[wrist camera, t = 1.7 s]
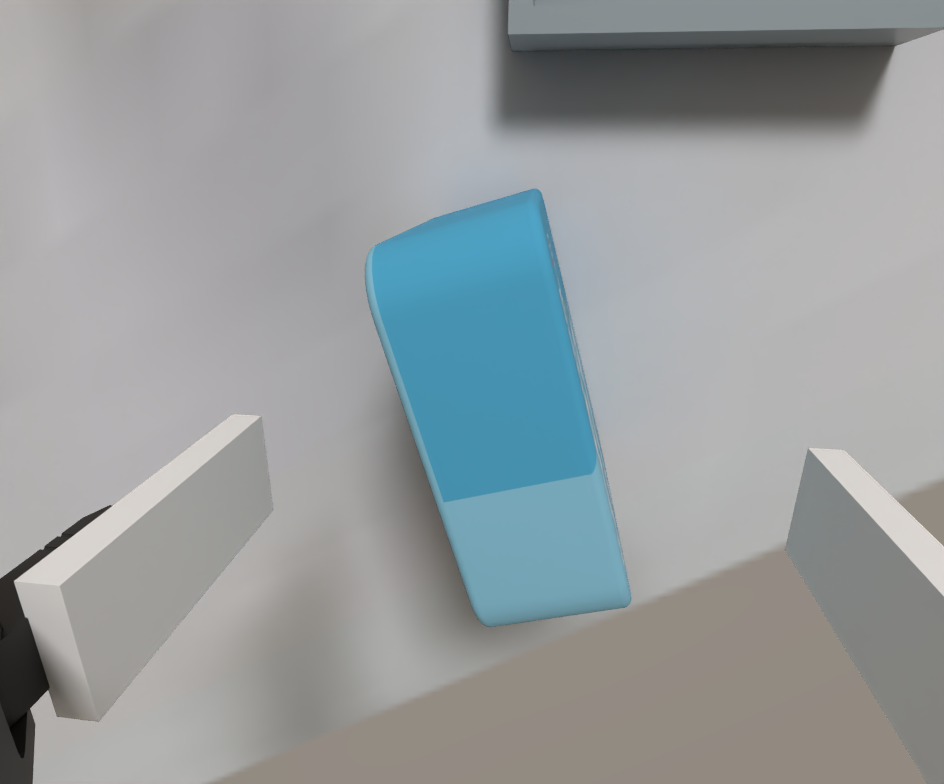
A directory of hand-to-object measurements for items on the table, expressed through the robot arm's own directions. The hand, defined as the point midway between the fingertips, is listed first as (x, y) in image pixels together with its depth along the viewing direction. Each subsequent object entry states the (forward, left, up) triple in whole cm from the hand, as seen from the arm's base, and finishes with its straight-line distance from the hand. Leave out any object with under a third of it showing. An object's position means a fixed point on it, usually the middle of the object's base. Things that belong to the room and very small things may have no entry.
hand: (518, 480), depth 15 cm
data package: (0, 0, -13) cm, 13 cm away
